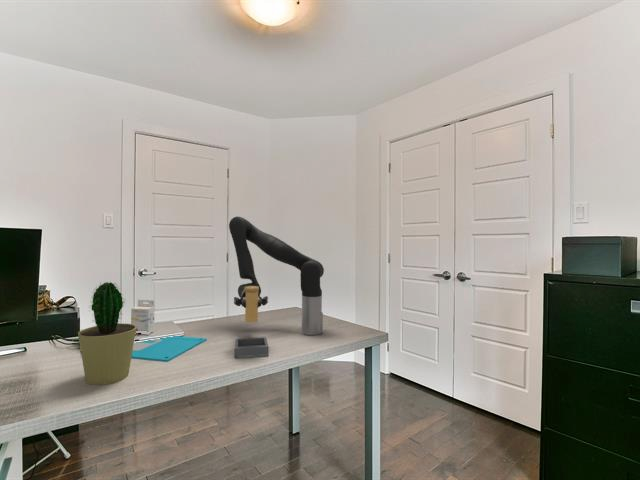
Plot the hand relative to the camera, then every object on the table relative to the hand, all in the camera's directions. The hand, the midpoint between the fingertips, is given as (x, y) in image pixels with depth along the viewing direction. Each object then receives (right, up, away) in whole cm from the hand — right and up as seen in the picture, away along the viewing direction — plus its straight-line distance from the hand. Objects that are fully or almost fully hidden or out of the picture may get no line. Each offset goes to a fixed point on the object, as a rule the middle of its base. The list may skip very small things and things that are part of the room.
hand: (251, 304), depth 127 cm
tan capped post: (-1, -6, +3) cm, 7 cm away
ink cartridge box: (-55, -18, +26) cm, 63 cm away
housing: (-1, -18, +3) cm, 19 cm away
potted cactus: (-40, -18, -22) cm, 49 cm away
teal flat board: (-39, -19, +7) cm, 44 cm away
